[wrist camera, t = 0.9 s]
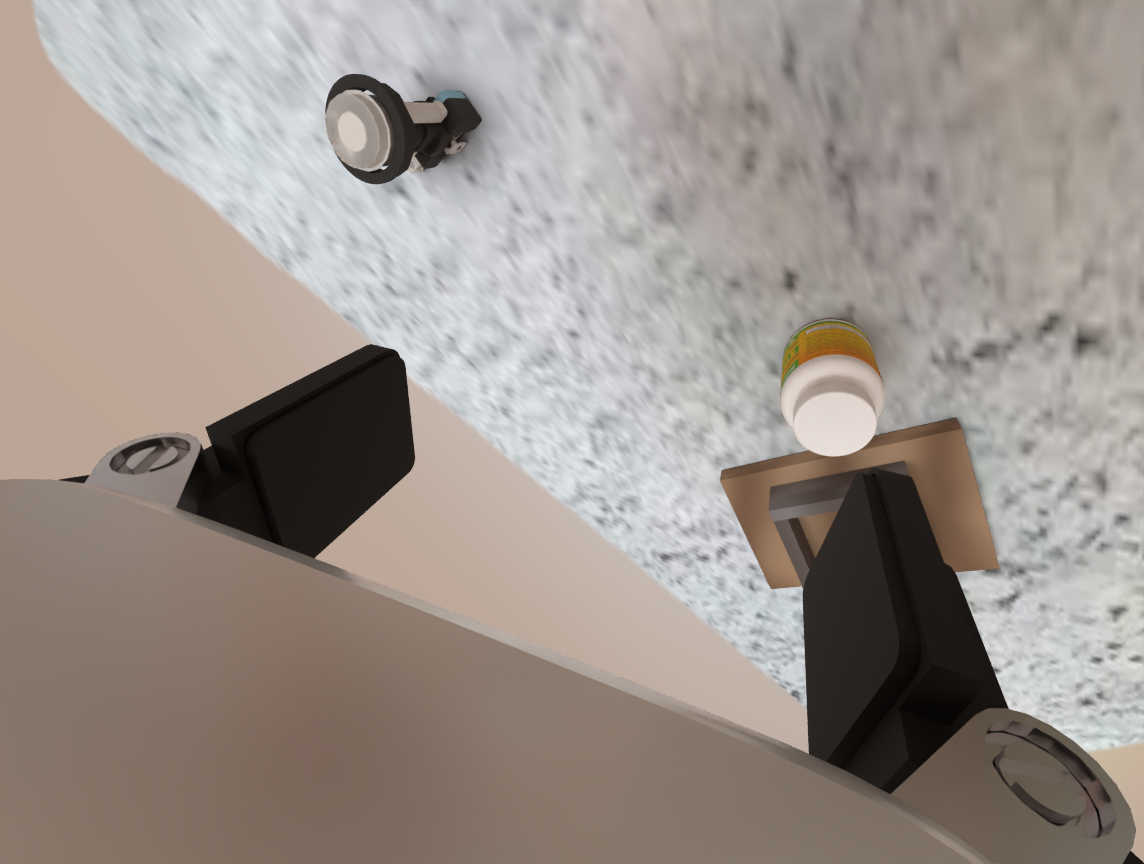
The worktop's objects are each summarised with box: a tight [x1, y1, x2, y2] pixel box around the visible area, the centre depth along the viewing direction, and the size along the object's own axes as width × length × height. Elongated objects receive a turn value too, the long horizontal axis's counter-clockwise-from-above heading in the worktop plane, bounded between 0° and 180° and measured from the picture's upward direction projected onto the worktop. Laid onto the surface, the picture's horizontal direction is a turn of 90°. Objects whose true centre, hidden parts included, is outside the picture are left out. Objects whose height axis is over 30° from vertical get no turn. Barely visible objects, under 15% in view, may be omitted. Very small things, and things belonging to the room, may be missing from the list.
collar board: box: [720, 418, 999, 589], centre depth 38 cm, size 16×12×4 cm
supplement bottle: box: [780, 319, 885, 456], centre depth 30 cm, size 5×5×10 cm
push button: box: [325, 74, 481, 184], centre depth 32 cm, size 7×5×10 cm
